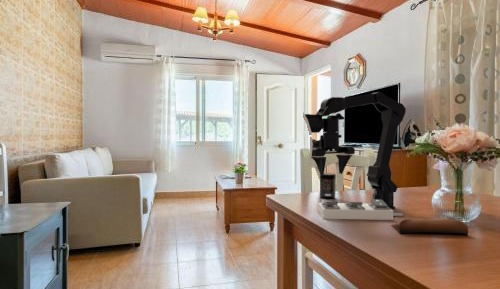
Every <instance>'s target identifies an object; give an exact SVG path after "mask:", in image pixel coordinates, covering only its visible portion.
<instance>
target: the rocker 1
mask: <svg viewBox="0 0 500 289" xmlns="http://www.w3.org/2000/svg"><path fill="white" fill-rule="evenodd" d="M323 203H324V204H326V205H338V203H339V202H338V201H334V200H333V201H331V200H328V201H327V200H326V201H323Z"/></svg>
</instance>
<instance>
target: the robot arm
mask: <svg viewBox="0 0 500 289" xmlns="http://www.w3.org/2000/svg"><path fill="white" fill-rule="evenodd" d="M371 104H372V105H373V106H374V107H375V109H376V110H377V111H378V112H379V113H380V114H381V115H380V117H381V118H380V119H381V122H382V125H383V126H382V131H381V135H380V139H379V145H378V149H377V154H376V158H375V162H374V163H373V165H369V166H368V170H367V173H366V174H365V176H367V181H368V183H369V184H370V186H371V189H372V190H373V193H372V199H375V200H383V201H384V202H385V203H386V204H387V205H388V207H389V208H391V209H396V206H394V204H395V203H394V196H395V195H394V193H397V191H398V186H397V184H396V183H395V182H394V181H393V180H392V171H391V170H392V169H391V167H390V163H391V158H392V154H393V148H394V144H395V139H396V134H397V130H398V127H399V125H401V123H402V122H403V120H404V117H405V115H406V110H407V109H406V107H405V105H404V104H403V103H401V102H398V101H397V100H396V99H394V98H391V97H389V96H387V95H386V94H385V93H383V92H380V91H377V92H372V93H369V94H364V95H363V94H362V95H357V96H352V97H351V96H350V97H342V96H341V97H339V96H333V97H329V98H325V99H323V100H322V101H321V103H320V108H319V109H318V110H317V112H316V113H315V114H312V113H311V114H310V113H306V114H305V113H304V117H305V119H306V121H307V123H308V127H309V130H310V134H313V133H314V134H315V133H321V131H322V134H321V135H320V136H319V140H317V139H314V138H311V144H312V145H311V155H310V159H311V160H313V161H314V163H315V165H316V167H317V169H318V172H319V176H320V175H321V176H323V175H324V173H325V169H326V161H327V157H326V155H331V154H336V155H335V156H336V158H337V159H338V172H339V174H343V173H344V170H345V169H346V166H347V164H348V163H349V161H350V159H351V158H352V157H353V155H355V153H356V149H355V148H354V146H348V145H347V146H345V145H340V138H342V134H340V124H339V123H340V122H339V121H340V120H345V119H346V118H345V117H344V116H343V115H342V114H341V113H339V112H342V111H344V110H346V109H350V108H353V107H354V108H355V107H361V106H365V105H371ZM332 114H334V115H332ZM324 117H326V118H324Z"/></svg>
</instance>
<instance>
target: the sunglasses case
mask: <svg viewBox="0 0 500 289" xmlns="http://www.w3.org/2000/svg"><path fill="white" fill-rule="evenodd" d="M391 226H392V227H391ZM390 227H391V228H393V230H395V231H396V232H397V233H398V234H399V233H400V234H410V233H413V234H414V233H435V234H436V233H444V234H445V233H446V234H463V235H465V236H468V234H469V228H468V225H467V224H466V223H465V222H463V221H461V220H458V219H453V218H431V219H430V218H429V219H428V218H414V217H410V218H405V219H403V220H400V222H399V221H398V222H396V223H393V224H391V225H390Z"/></svg>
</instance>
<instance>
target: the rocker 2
mask: <svg viewBox="0 0 500 289" xmlns="http://www.w3.org/2000/svg"><path fill="white" fill-rule="evenodd" d="M370 202H371V203H370V204H373V205H374V206H375V207H376V208H388V205H387V204H386V203H385V202H384V201H383V200H375V199H373V198H371V200H370Z"/></svg>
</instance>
